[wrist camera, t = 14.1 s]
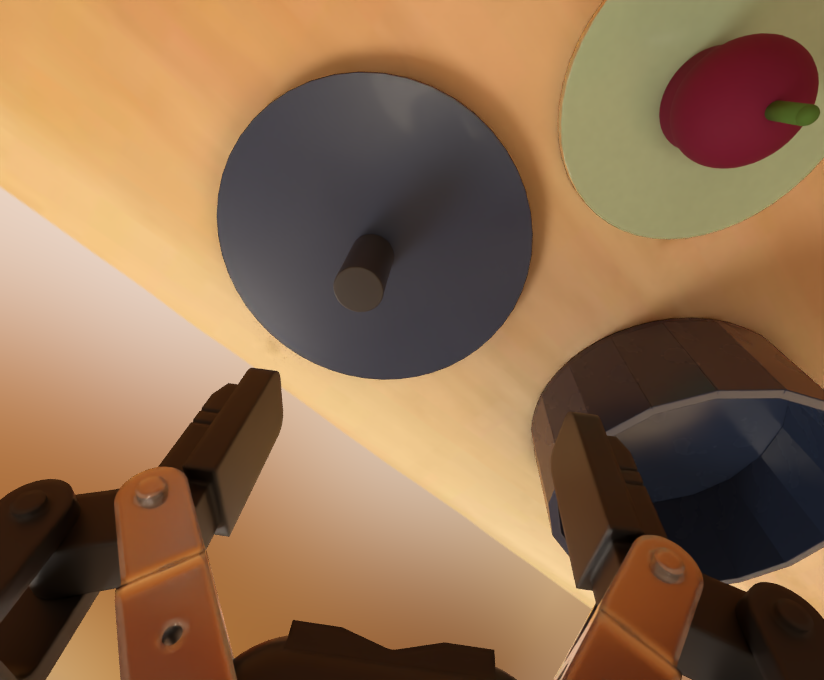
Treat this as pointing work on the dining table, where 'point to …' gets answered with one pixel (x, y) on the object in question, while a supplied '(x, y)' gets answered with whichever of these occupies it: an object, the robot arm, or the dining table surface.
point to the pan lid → (374, 225)
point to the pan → (703, 439)
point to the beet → (740, 100)
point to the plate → (640, 125)
